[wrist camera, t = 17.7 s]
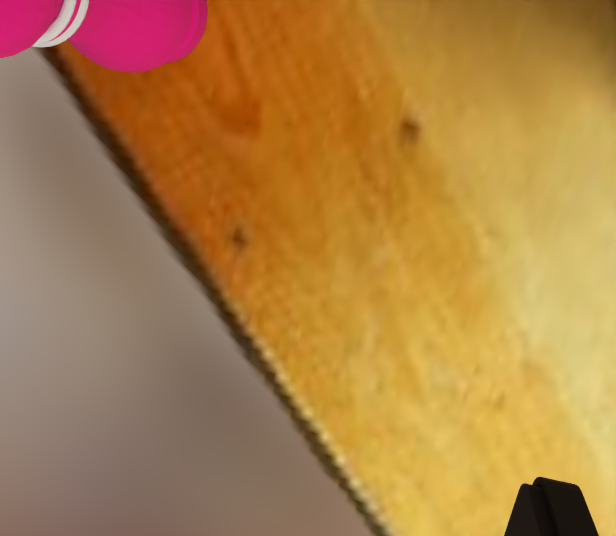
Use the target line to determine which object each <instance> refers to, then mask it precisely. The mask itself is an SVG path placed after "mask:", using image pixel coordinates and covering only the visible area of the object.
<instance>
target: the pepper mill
mask: <svg viewBox="0 0 616 536" xmlns="http://www.w3.org/2000/svg"><path fill="white" fill-rule="evenodd" d="M206 21H207V1H206V0H0V58H4V57H8V56H13V55H15V54H17V53H19V52H21V51H23V50H25V49H28V48H29V47H31V46H34V47H50V46H53V45H57V44H60V43H61V42H63V41H65V40H68V41H69V42H70V43H71V44H72V45H73V46H74V47H75V48H76V49H77V51H79V52H80V53H81V54H83V55H84V56H86V57H87V58H89V59H90V60H92V61H94V62H95V63H97V64H99V65H101V66H103V67H106V68H109V69H113V70H117V71H124V72H143V71H148V70H152V69H154V68H156V67H158V66H160V65H162V64H164V63H170V62H174V61H177V60H180V59H181V58H183V57H185V56H187V55H188V54H189V53H190V52H191V51H192V50H193V49H194V48H195V47H196V45H197V44H198V43H199V41H200V40H201V38H202V35H203V33H204V30H205V26H206Z"/></svg>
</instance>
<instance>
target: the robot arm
mask: <svg viewBox="0 0 616 536" xmlns="http://www.w3.org/2000/svg"><path fill="white" fill-rule="evenodd" d="M504 536H599V535H598V533H597V530H596V527H595V525H594V522H593V520H592V517H591V515H590V512H589V509H588V507H587V504H586V502H585V499H584V496H583V494H582V492H581V490H580V488H579V487H578V486H577V485H575V484H571V483H566V482H561V481H557V480H552V479H548V478H543V477H537V478H536V479H535V480H534V482H533V485H529V484H522V485H521V487H520V489H519V492H518V495H517V498H516V501H515V504H514V507H513V510H512V513H511V516H510V519H509V522H508V526H507V529H506V532H505V535H504Z"/></svg>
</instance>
